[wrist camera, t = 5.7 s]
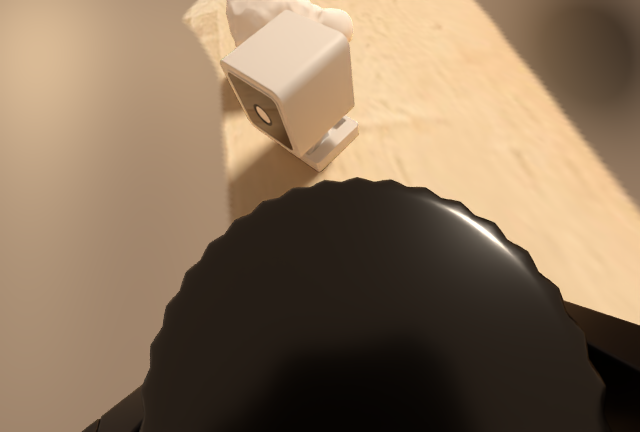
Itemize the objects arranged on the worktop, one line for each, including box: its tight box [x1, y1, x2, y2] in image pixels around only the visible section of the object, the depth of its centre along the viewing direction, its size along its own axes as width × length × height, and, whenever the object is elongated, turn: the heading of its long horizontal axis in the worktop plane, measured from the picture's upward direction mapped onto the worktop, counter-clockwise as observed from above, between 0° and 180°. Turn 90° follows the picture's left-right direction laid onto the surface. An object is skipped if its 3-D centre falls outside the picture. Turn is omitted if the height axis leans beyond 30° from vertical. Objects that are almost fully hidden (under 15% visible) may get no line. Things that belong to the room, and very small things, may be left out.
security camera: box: [220, 10, 359, 172], centre depth 24 cm, size 6×7×10 cm
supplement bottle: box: [139, 177, 612, 432], centre depth 8 cm, size 7×7×12 cm
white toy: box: [226, 0, 353, 47], centre depth 31 cm, size 6×8×12 cm
